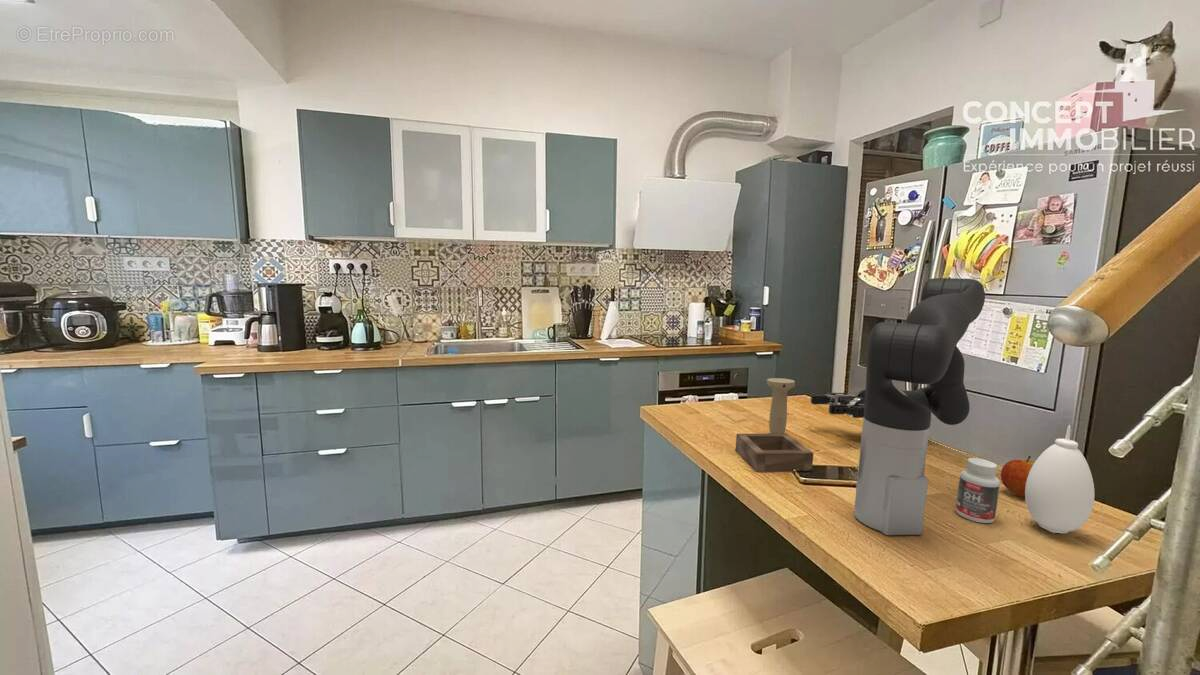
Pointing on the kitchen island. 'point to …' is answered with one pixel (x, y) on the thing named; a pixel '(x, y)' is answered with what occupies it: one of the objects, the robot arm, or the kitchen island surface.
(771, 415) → the handle
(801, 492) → the kitchen island surface
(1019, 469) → the fruit
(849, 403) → the robot arm
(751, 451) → the socket
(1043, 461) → the white air blower bulb
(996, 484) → the pill bottle
